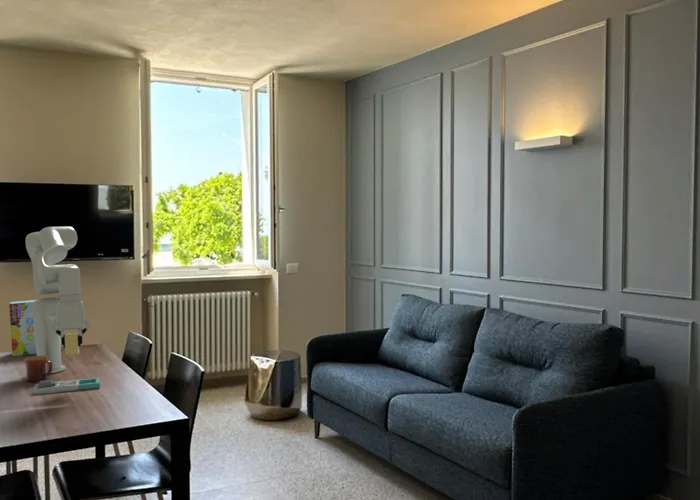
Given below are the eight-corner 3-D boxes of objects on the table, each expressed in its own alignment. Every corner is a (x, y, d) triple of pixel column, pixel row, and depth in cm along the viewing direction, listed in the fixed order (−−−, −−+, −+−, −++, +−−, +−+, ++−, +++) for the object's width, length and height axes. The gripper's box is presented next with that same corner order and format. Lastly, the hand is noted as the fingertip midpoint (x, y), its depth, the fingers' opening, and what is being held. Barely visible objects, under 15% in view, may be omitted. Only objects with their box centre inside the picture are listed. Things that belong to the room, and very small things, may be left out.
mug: (19, 385, 261) (18, 359, 260) (37, 379, 269) (35, 355, 268) (43, 387, 257) (42, 361, 256) (60, 381, 265) (59, 356, 264)
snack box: (61, 348, 330) (58, 298, 329) (61, 352, 322) (58, 300, 321) (12, 353, 322) (10, 301, 320) (11, 356, 314) (8, 303, 312)
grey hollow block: (39, 392, 245) (38, 383, 244) (40, 389, 249) (39, 380, 249) (52, 391, 246) (51, 382, 246) (53, 388, 250) (52, 379, 250)
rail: (33, 397, 242) (32, 389, 242) (35, 392, 250) (35, 383, 250) (100, 391, 250) (99, 382, 250) (100, 385, 258) (100, 377, 258)
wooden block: (65, 355, 247) (64, 335, 247) (66, 353, 251) (65, 333, 251) (78, 354, 248) (77, 334, 248) (79, 352, 253) (78, 332, 252)
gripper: (44, 301, 242) (46, 350, 243) (93, 298, 248) (95, 346, 249) (47, 298, 250) (49, 346, 251) (94, 296, 255) (96, 342, 256)
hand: (72, 345), depth 250 cm, fingers closed on wooden block, 4 cm apart
